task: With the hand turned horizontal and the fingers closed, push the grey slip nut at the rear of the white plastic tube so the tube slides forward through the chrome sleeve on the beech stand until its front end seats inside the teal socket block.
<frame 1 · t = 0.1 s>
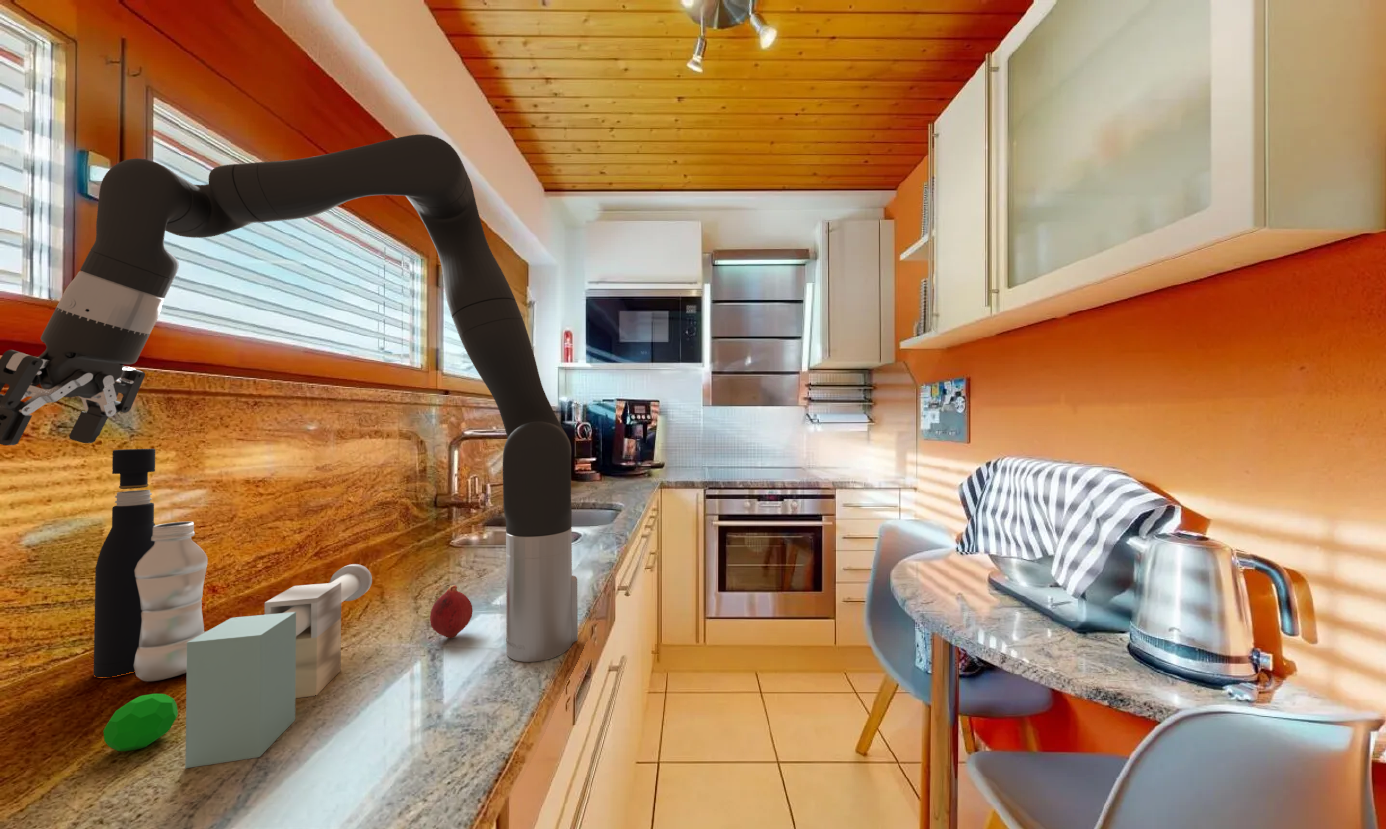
hand: (43, 442, 56), 31 cm above the countertop, tool tilted 20°, fingers open, 8 cm apart
sleeve stand: (304, 685, 59), on the countertop
socket: (244, 742, 49), on the countertop
plastic bottle: (172, 676, 62), on the countertop
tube: (321, 602, 63), point 9 cm above the countertop, slide at 0.0 cm
wine bottle: (131, 668, 65), on the countertop
polyhedron: (141, 746, 48), on the countertop
onion: (451, 639, 72), on the countertop
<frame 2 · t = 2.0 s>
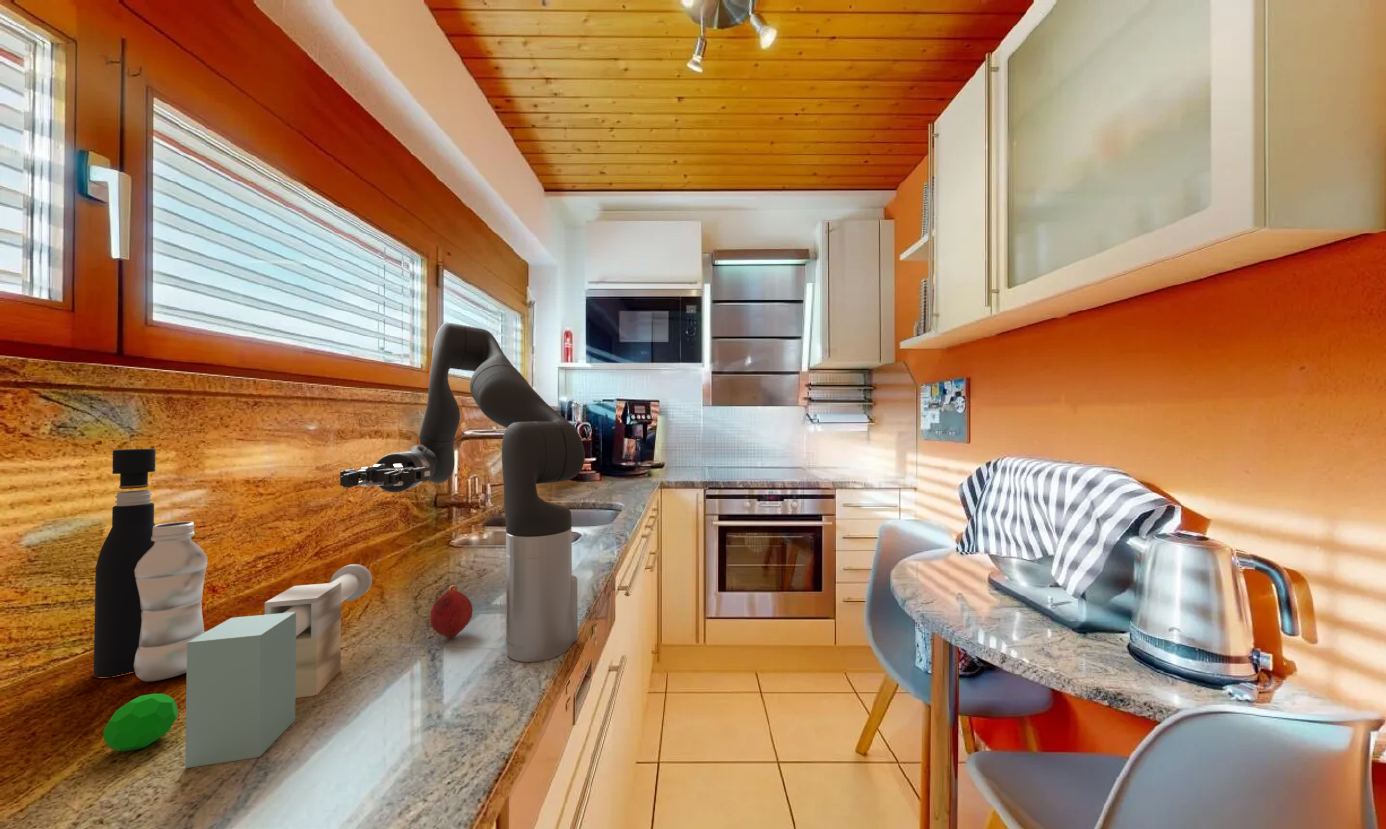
hand: (366, 480, 77), 24 cm above the countertop, tool horizontal, fingers open, 5 cm apart
nothing on the countertop moved.
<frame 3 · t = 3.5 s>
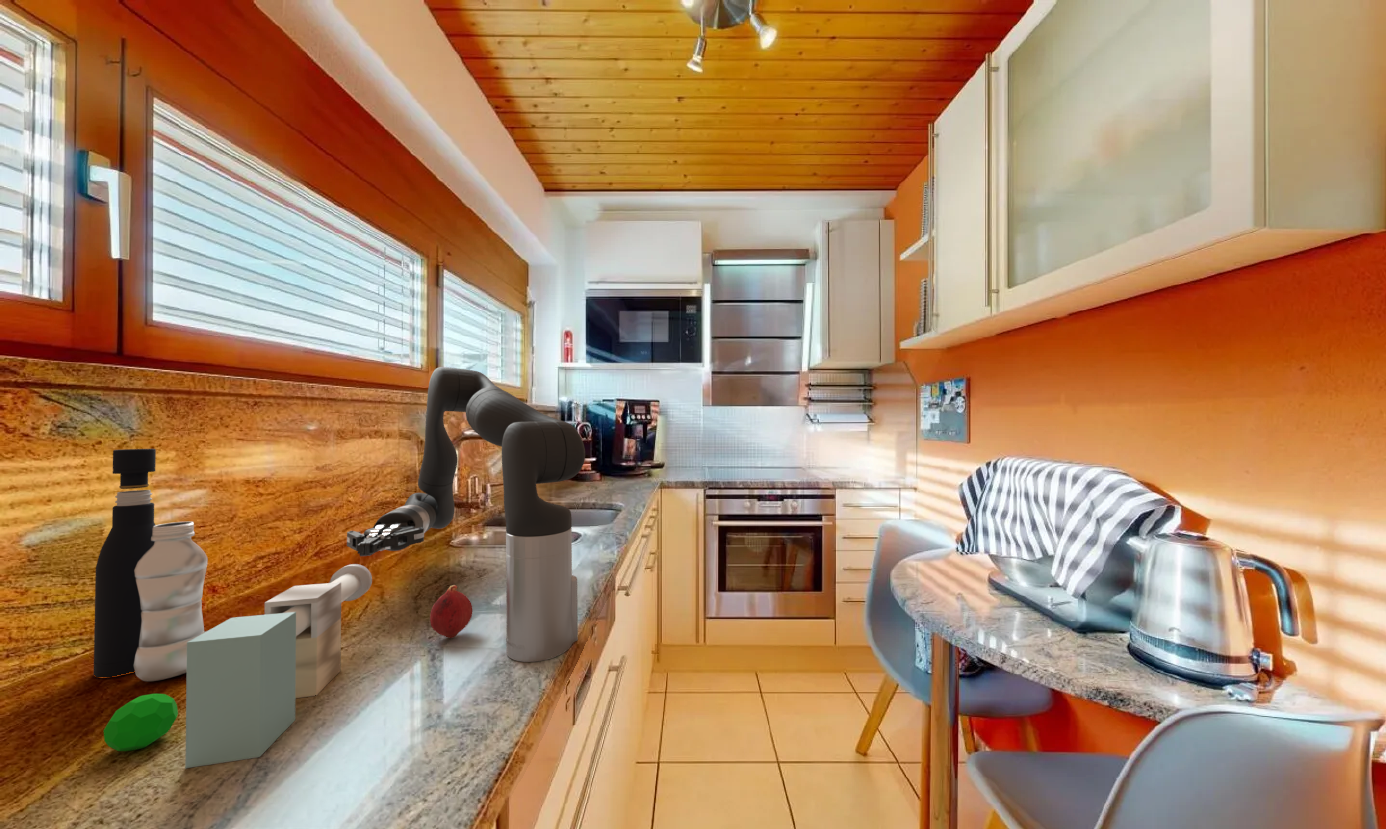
hand: (364, 549, 76), 13 cm above the countertop, tool horizontal, fingers closed
nothing on the countertop moved.
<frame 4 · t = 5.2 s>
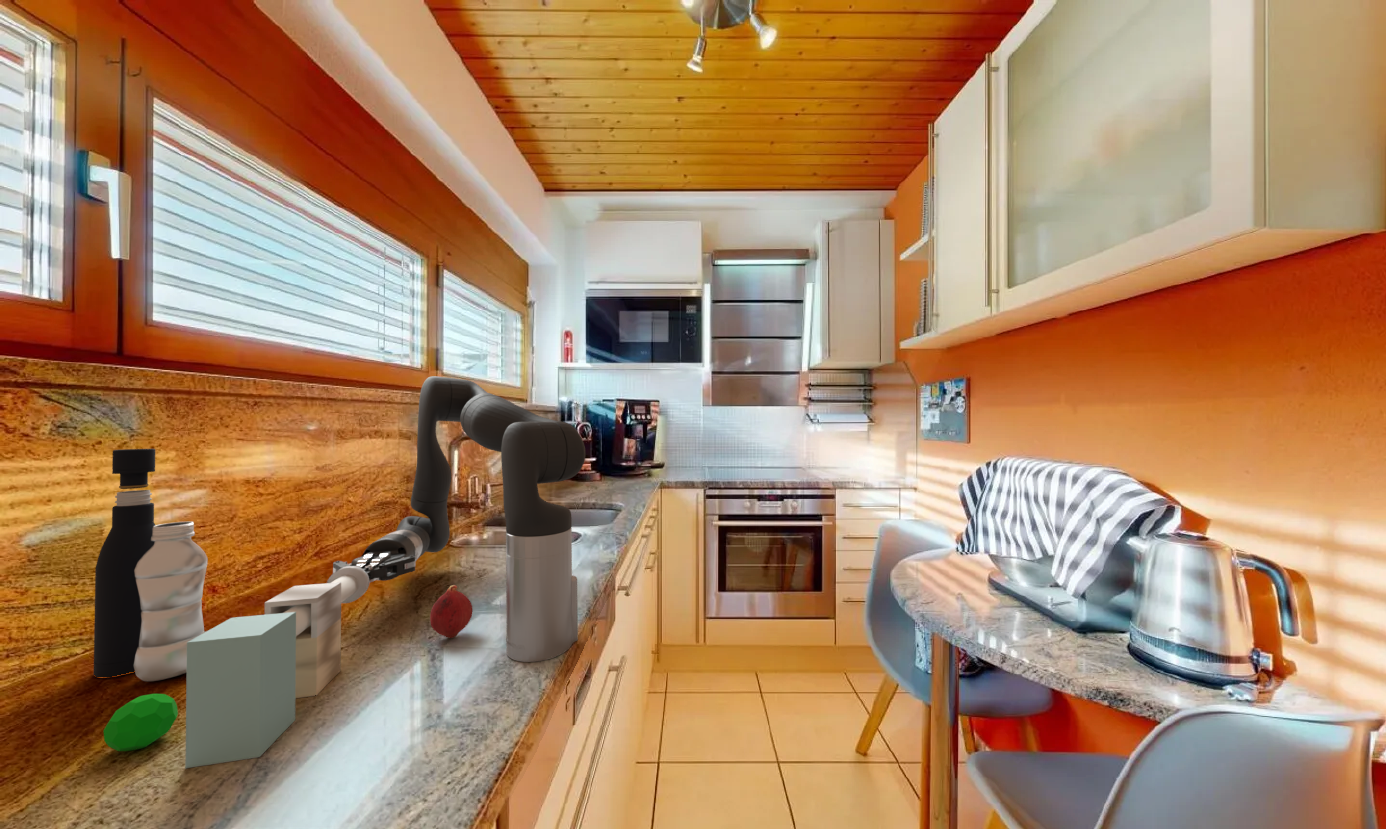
hand: (350, 583, 71), 9 cm above the countertop, tool horizontal, fingers closed
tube: (318, 605, 62), point 9 cm above the countertop, slide at 1.0 cm, touching gripper
everything else where it was.
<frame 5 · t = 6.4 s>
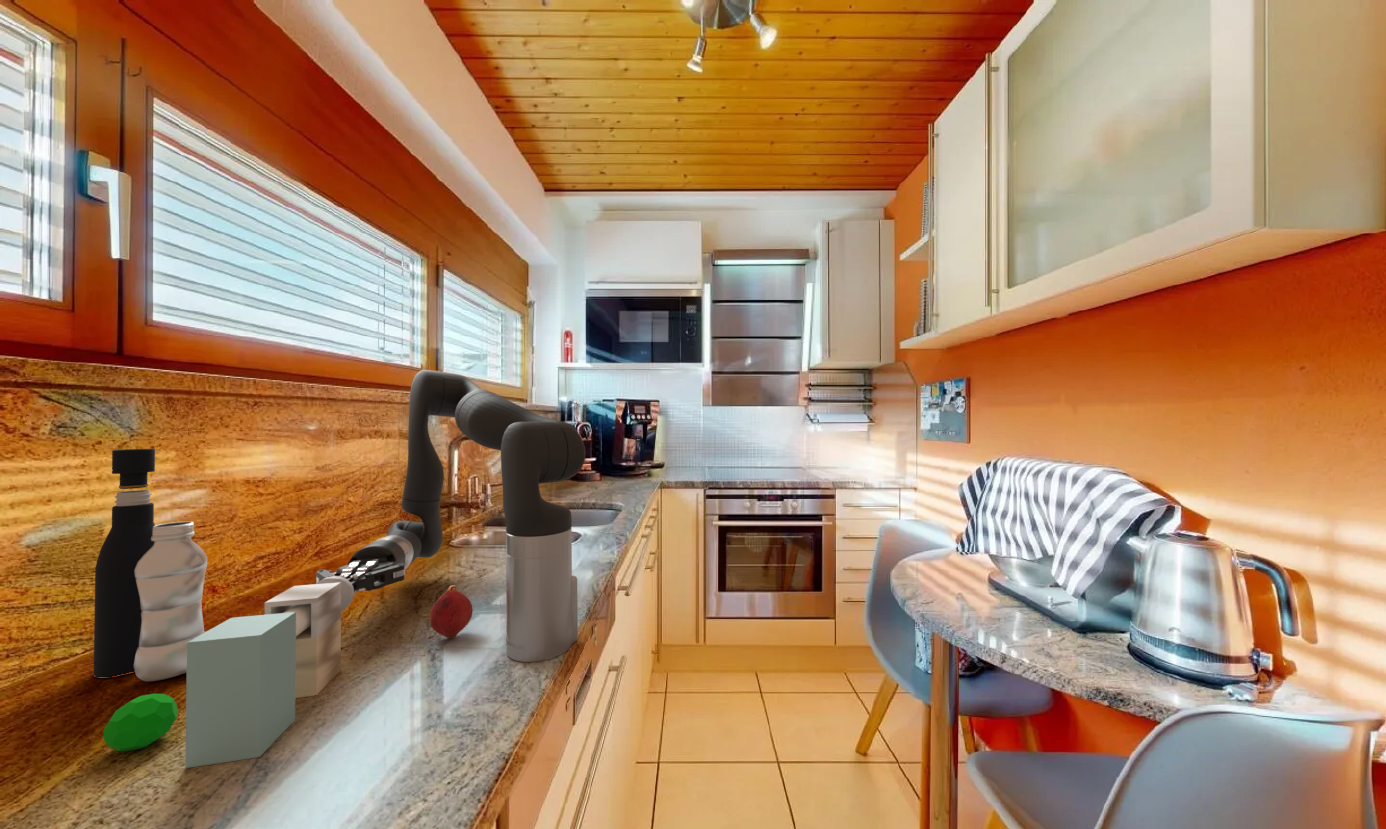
hand: (333, 594, 66), 9 cm above the countertop, tool horizontal, fingers closed
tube: (296, 620, 58), point 9 cm above the countertop, slide at 5.9 cm, touching gripper
everything else where it was.
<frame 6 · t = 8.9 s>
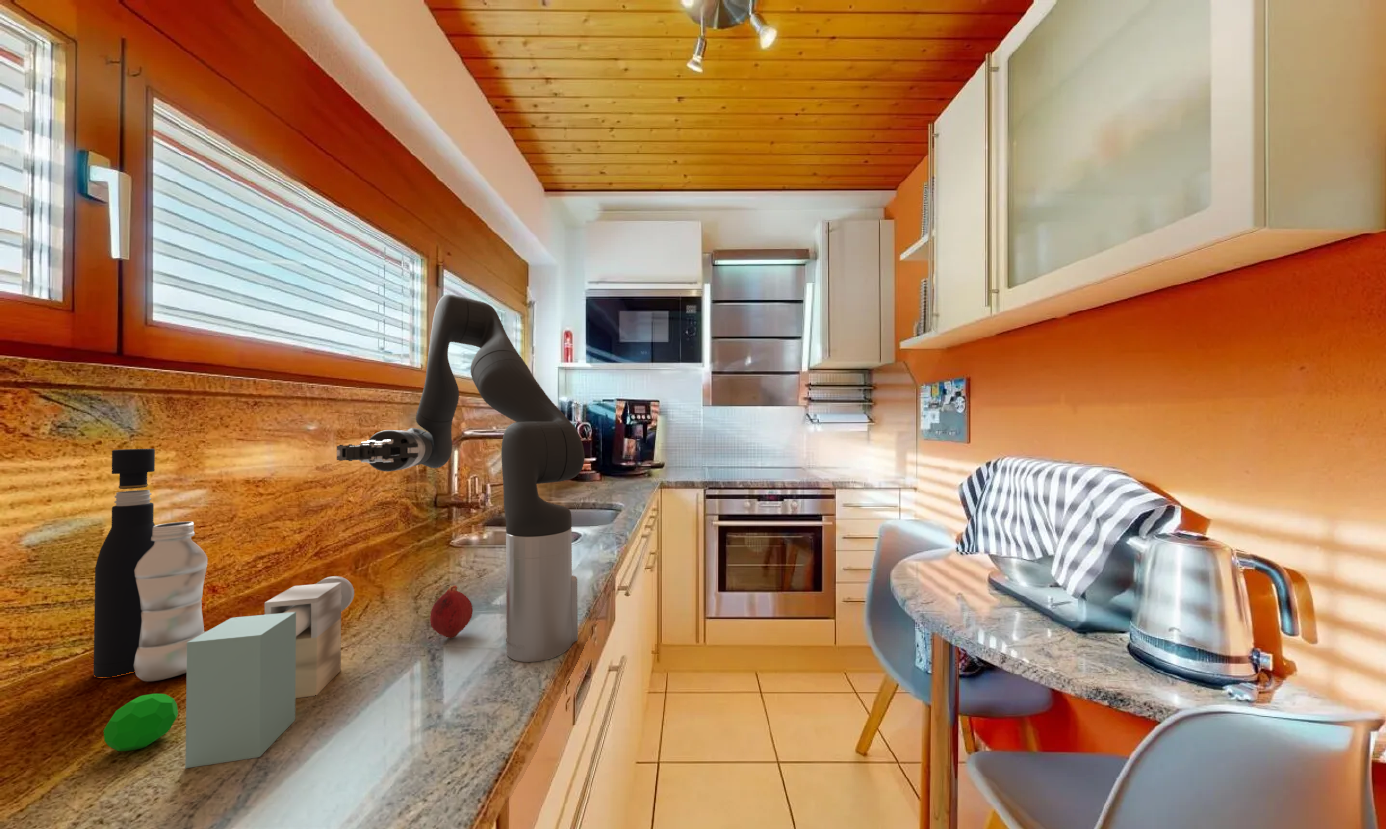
hand: (354, 453, 72), 29 cm above the countertop, tool horizontal, fingers closed
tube: (295, 620, 58), point 9 cm above the countertop, slide at 6.0 cm
everything else where it was.
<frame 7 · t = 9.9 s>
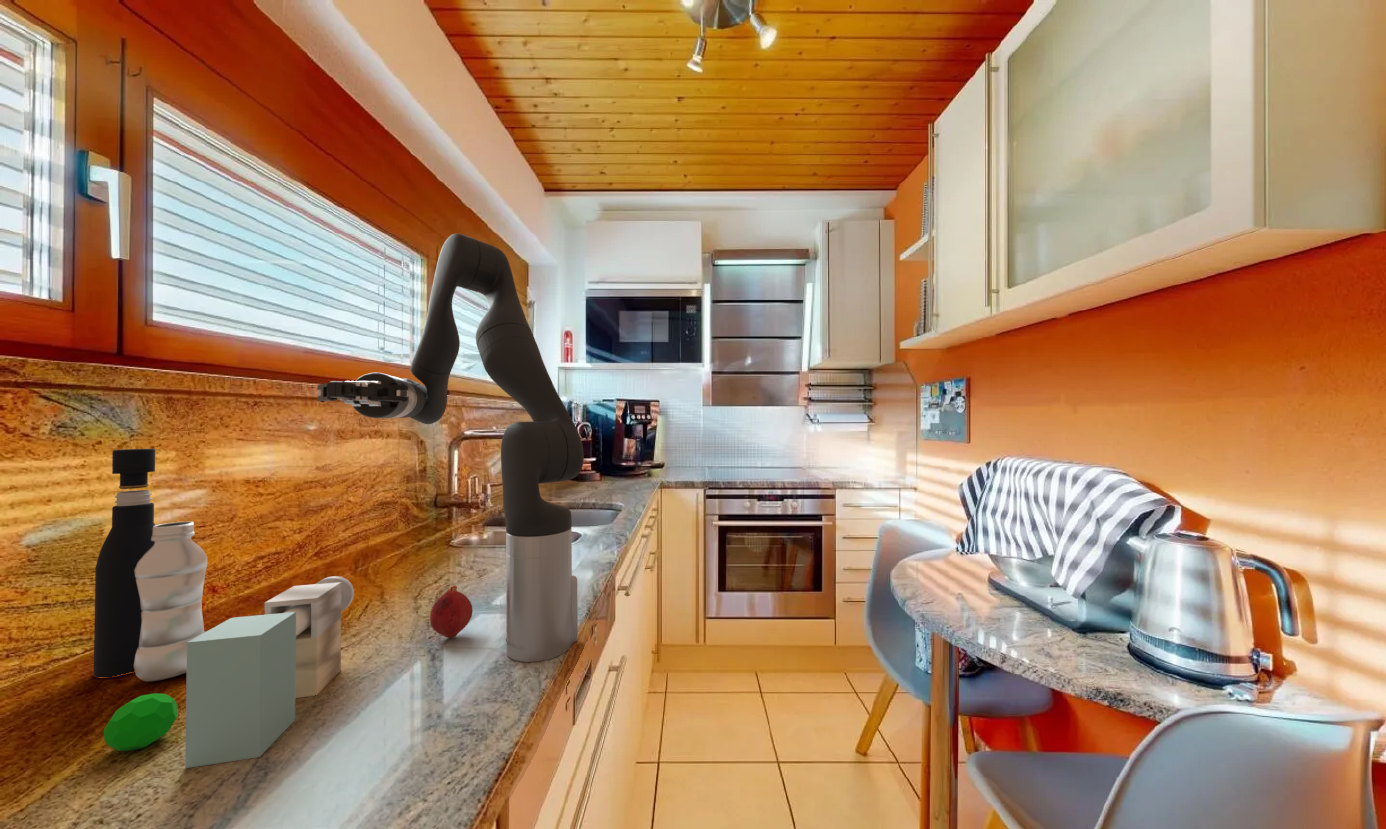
hand: (335, 389, 64), 38 cm above the countertop, tool horizontal, fingers closed
nothing on the countertop moved.
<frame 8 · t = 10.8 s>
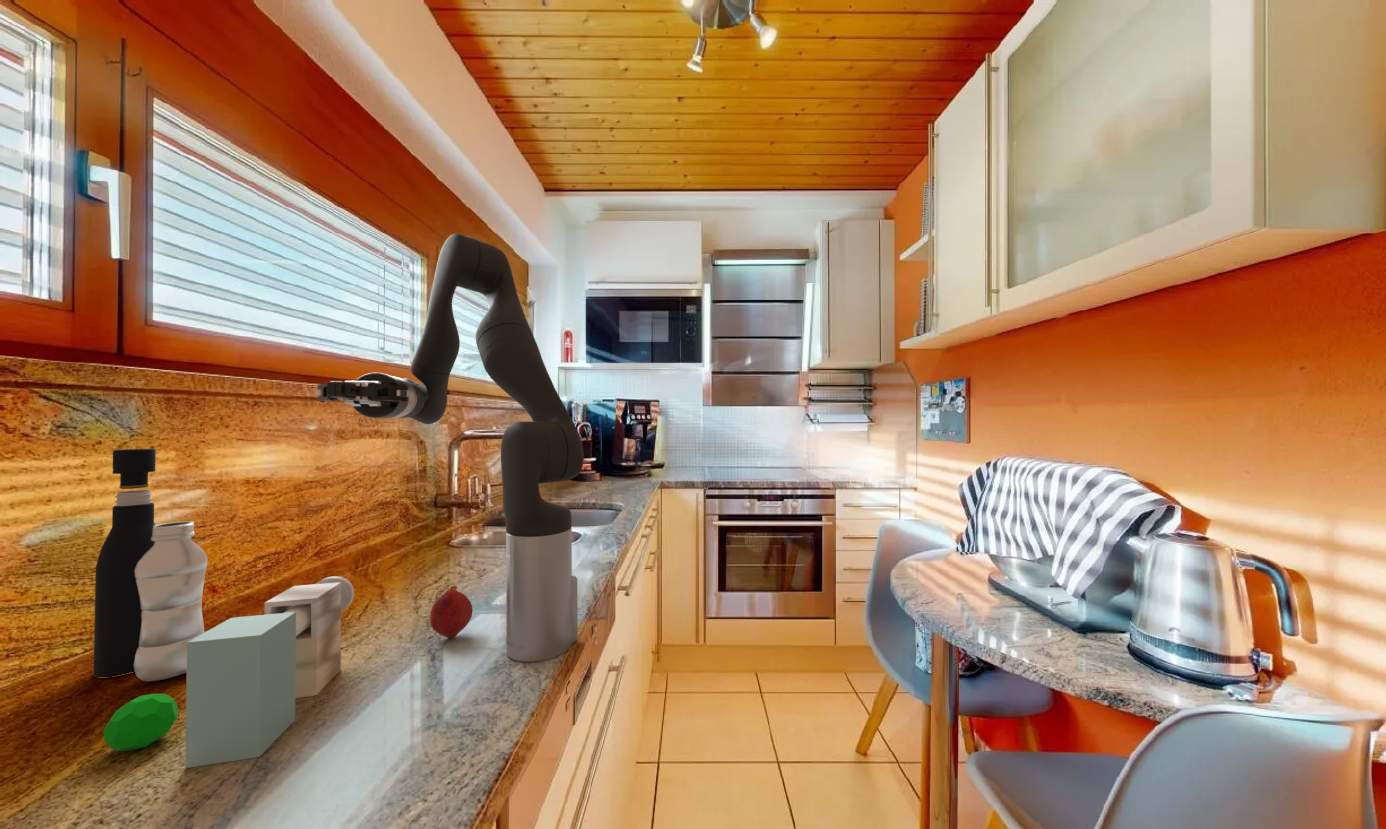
hand: (335, 389, 64), 38 cm above the countertop, tool horizontal, fingers closed
nothing on the countertop moved.
at the end: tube slide at 6.0 cm; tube 9.0 cm from the socket (horizontally) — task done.
